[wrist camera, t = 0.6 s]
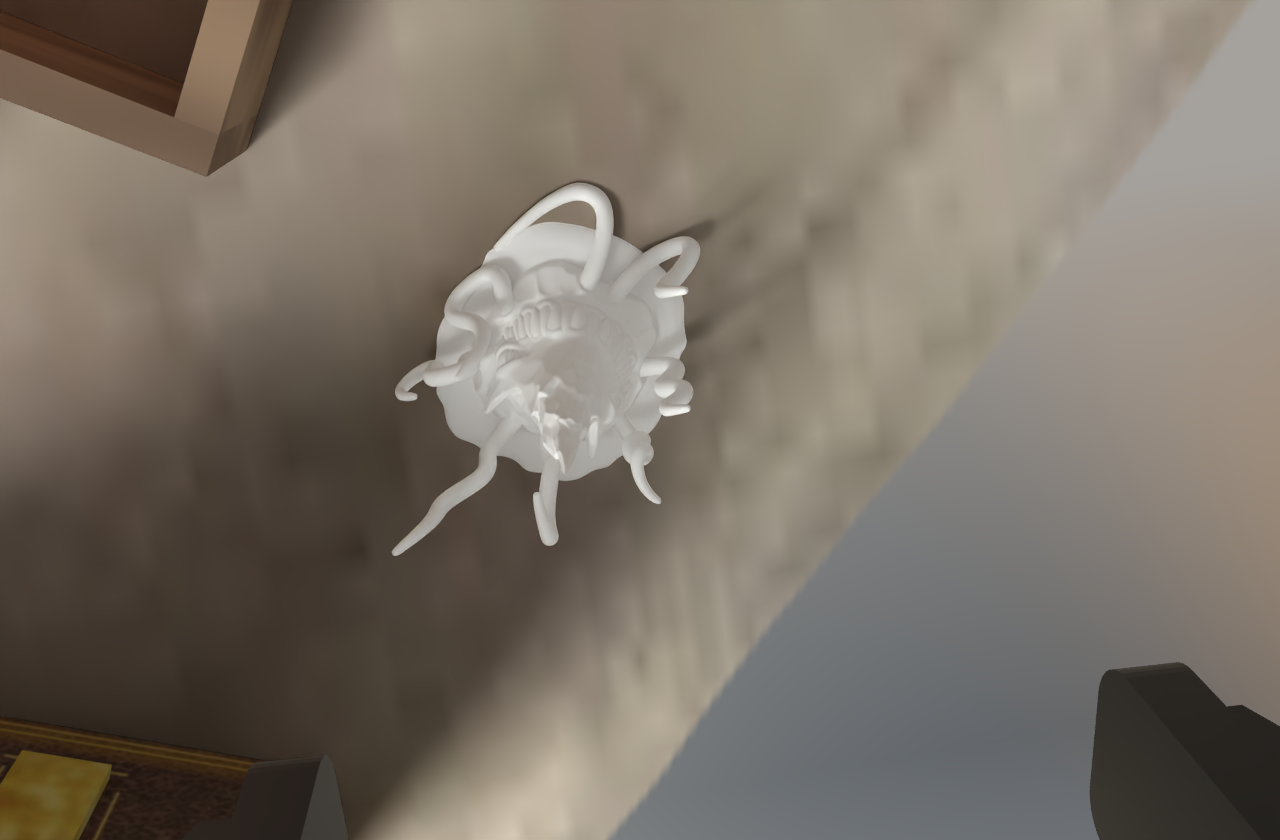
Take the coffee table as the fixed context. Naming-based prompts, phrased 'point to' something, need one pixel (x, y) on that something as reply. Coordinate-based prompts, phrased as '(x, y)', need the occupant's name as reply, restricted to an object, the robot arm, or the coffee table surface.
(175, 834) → the book
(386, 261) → the coffee table surface
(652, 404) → the white tentacle figurine
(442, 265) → the coffee table surface
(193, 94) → the wooden tray
